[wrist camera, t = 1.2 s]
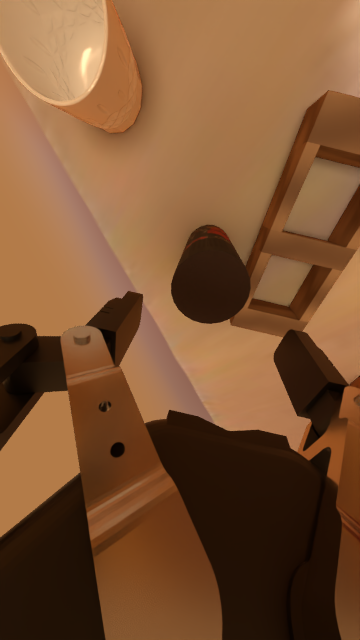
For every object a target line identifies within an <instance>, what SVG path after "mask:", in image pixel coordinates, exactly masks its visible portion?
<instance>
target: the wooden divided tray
mask: <svg viewBox="0 0 360 640" xmlns="http://www.w3.org/2000/svg"><path fill="white" fill-rule="evenodd" d="M315 157H319V158H323V159H327V160H331V161H335V162H339V163H343V164H347V165H351V166H355V167H360V98H358V97H354V96H350V95H346V94H342V93H338V92H334V91H330V90H328V91H327V92H326V93H325V94H324V95H323V96H322V97H320V98H319V99H318V100H317V101H316V102H315V103H314V104H312V105H311V106H310V107H309V108H308V109H307V111H306V114H305V116H304V119H303V121H302V124H301V127H300V129H299V132H298V134H297V137H296V139H295V142H294V145H293V147H292V150H291V152H290V155H289V157H288V160H287V163H286V165H285V168H284V170H283V173H282V175H281V178H280V181H279V183H278V186H277V188H276V191H275V193H274V196H273V198H272V201H271V204H270V206H269V209H268V211H267V214H266V216H265V219H264V222H263V224H262V227H261V229H260V232H259V234H258V237H257V240H256V242H255V245H254V247H253V250H252V252H251V255H250V258H249V260H248V263H247V265H246V269H247V271H248V274H249V277H250V284H251V289H250V294H249V298H248V300H247V302H246V304H245V305H244V307H243V308H242V309H241V310H240V311H239V312H238V313H237V314H236V315H234V316H233V317H231V318H230V323H231V325H232V326H237V327H241V328H245V329H250V330H254V331H258V332H262V333H267V334H271V335H275V336H280V337H284V336H285V334H286V333H287V331H289V330H290V329H293V330H297V331H301V332H302V331H303V329H304V328H305V327H306V325H307V324H308V322H309V321H310V319H311V318H312V316H313V315H314V313H315V312H316V310H317V309H318V307H319V306H320V304H321V303H322V301H323V300H324V298H325V297H326V295H327V294H328V292H329V291H330V289H331V288H332V286H333V285H334V283H335V282H336V280H337V279H338V277H339V276H340V274H341V273H342V271H343V270H344V268H345V267H346V265H347V264H348V262H349V261H350V259H351V258H352V257H353V255H354V254H355V252H356V251H357V249H358V248H359V246H360V185H359V187H358V189H357V191H356V192H355V194H354V196H353V198H352V199H351V201H350V203H349V204H348V206H347V208H346V210H345V211H344V213H343V215H342V217H341V218H340V220H339V222H338V224H337V225H336V227H335V229H334V230H333V232H332V234H331V236H330V237H329V239H328V241H325V240H321V239H317V238H313V237H309V236H304V235H300V234H296V233H292V232H288V231H283V228H284V226H285V223H286V221H287V219H288V217H289V214H290V212H291V210H292V208H293V205H294V203H295V201H296V199H297V196H298V194H299V192H300V190H301V187H302V185H303V183H304V181H305V179H306V176H307V174H308V172H309V170H310V167H311V165H312V163H313V161H314V158H315ZM271 255H276V256H280V257H284V258H289V259H293V260H297V261H301V262H305V263H310V264H314V265H313V267H312V269H311V270H310V272H309V274H308V275H307V277H306V279H305V281H304V282H303V284H302V286H301V288H300V289H299V291H298V293H297V294H296V296H295V298H294V300H293V301H292V303H291V305H290V307H287V306H282V305H278V304H274V303H270V302H265V301H261V300H257V299H252V297H253V295H254V293H255V290H256V288H257V286H258V284H259V282H260V279H261V277H262V275H263V273H264V270H265V268H266V266H267V264H268V261H269V259H270V257H271Z"/></svg>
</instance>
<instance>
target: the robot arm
mask: <svg viewBox="0 0 360 640" xmlns="http://www.w3.org/2000/svg"><path fill="white" fill-rule="evenodd" d="M142 302H143V294H140V293H135V292H131V291H128V292H127V293H126V294H125V296H124V297H123V298H122V299H121V298H115V299H112V300H110V301H108V302H107V304H105V305H104V307H103V308H102V309H101V310H100V311H99V312H98V313H97V314H96V315H95V316H94V317H93V318H92V319H91V320H90V321H89V322H88V323H87V324H86V325H85V326H77V327H73V328H70V329H68V330H67V331H65V332H64V333H63V334H62V336H37V333H36V330H35V328H34V327H32V326H30V325H27V324H9V325H4V326H1V327H0V450H1V449H2V448H3V446H4V445H5V444H6V443H7V441H8V440H9V438H10V437H11V436H12V434H13V433H14V432H15V431H16V429H17V428H18V427H19V425H20V424H21V423H22V421H23V420H24V419H25V417H26V416H27V415H28V413H29V412H30V411H31V409H32V408H33V407H34V405H35V404H36V403H37V401H38V400H39V399H40V397H41V396H42V395H43V393H44V392H52V391H68V394H69V401H70V406H71V414H72V420H73V427H74V433H75V440H76V447H77V453H78V459H79V466H80V473H79V474H78V475H76V476H75V477H74V478H73V479H72V480H70V481H69V482H68V483H67V484H65V485H64V486H63V487H62V488H61V489H59V490H58V491H57V492H56V493H54V494H53V495H52V496H51V497H49V498H48V499H47V500H46V501H45V502H43V503H42V504H41V505H40V506H38V507H37V508H36V509H35V510H33V511H32V512H31V513H30V514H29V515H27V516H26V517H25V518H24V519H22V520H21V521H20V522H19V523H18V524H16V525H15V526H14V527H13V528H11V529H10V530H9V531H8V532H7V533H5V534H4V535H3V536H2V537H0V640H360V389H359V388H356V387H352V386H349V384H348V383H347V382H346V381H345V379H344V378H343V377H342V375H341V374H340V373H339V372H338V370H337V369H336V368H335V367H334V366H333V364H332V363H331V361H330V360H328V357H327V356H326V355H325V354H324V352H323V351H322V350H321V349H320V348H318V347H317V346H316V344H315V343H314V342H313V340H312V339H311V338H310V337H309V335H308V334H307V333H305V332H301V331H297V330H293V329H290V330H289V331H287V333H286V334H285V336H284V337H283V339H282V341H281V342H280V344H279V346H278V347H277V349H276V351H275V353H274V362H275V365H276V367H277V369H278V372H279V374H280V377H281V379H282V381H283V384H284V386H285V388H286V391H287V393H288V395H289V398H290V400H291V402H292V405H293V407H294V409H295V412H296V414H297V416H300V417H304V418H309V419H310V420H311V422H310V423H309V424H308V425H307V427H306V429H305V432H304V435H303V438H302V440H301V443H300V446H299V448H298V451H297V452H296V451H294V450H292V449H291V448H290V446H289V443H288V440H287V437H286V436H283V435H278V434H274V433H269V432H265V431H261V430H245V431H227V430H225V429H223V428H221V427H219V426H217V425H215V424H213V423H211V422H209V421H206V420H204V419H202V418H200V417H198V416H194V415H189V414H185V413H181V412H177V411H172V410H169V412H168V415H167V419H161V420H154V421H151V422H147V423H144V421H143V419H142V416H141V414H140V411H139V409H138V407H137V404H136V402H135V399H134V397H133V395H132V392H131V390H130V388H129V385H128V383H127V381H126V378H125V376H124V373H123V371H122V369H121V367H120V366H119V365H120V362H121V361H122V359H123V357H124V355H125V353H126V351H127V349H128V347H129V345H130V343H131V342H132V340H133V338H134V336H135V334H136V332H137V330H138V328H139V325H140V320H141V311H142Z"/></svg>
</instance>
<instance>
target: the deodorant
mask: <svg viewBox="0 0 360 640" xmlns="http://www.w3.org/2000/svg"><path fill="white" fill-rule="evenodd" d="M250 289H251V284H250V277H249V274H248V271H247V269H246V267H245V265H244V264H243V262H242V260H241V259H240V257H239V255H238V253H237V252H236V250H235V248H234V247H233V245H232V243H231V241H230V240H229V238H228V236H227V235H226V233H225V232H224V231H223V230H222V229H221V228H219V227H217V226H214V225H205V226H201V227H199V228H198V229H196V230H195V231H194V232H193V233H192V234H191V236H190V238H189V239H188V242H187V244H186V247H185V249H184V251H183V254H182V256H181V259H180V261H179V263H178V266H177V268H176V271H175V273H174V276H173V280H172V283H171V294H172V297H173V301H174V303H175V304H176V306H177V308H178V309H179V310H180V311H181V312H182V313H183V314H184V315H185V316H186V317H188V318H190V319H191V320H194V321H197V322H200V323H209V324H212V323H219V322H223V321H225V320H228V319H230V318H231V317H233V316H234V315H236V314H237V313H238V312H239V311H240V310H241V309H242V308H243V307H244V305H245V304H246V302H247V300H248V298H249V294H250Z"/></svg>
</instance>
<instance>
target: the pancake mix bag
mask: <svg viewBox="0 0 360 640" xmlns="http://www.w3.org/2000/svg"><path fill="white" fill-rule="evenodd" d="M350 386H352V387H356V388H359V389H360V377H358V378H357V379H356V380H354V381H353V382H352V383H351V384H350Z"/></svg>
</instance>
